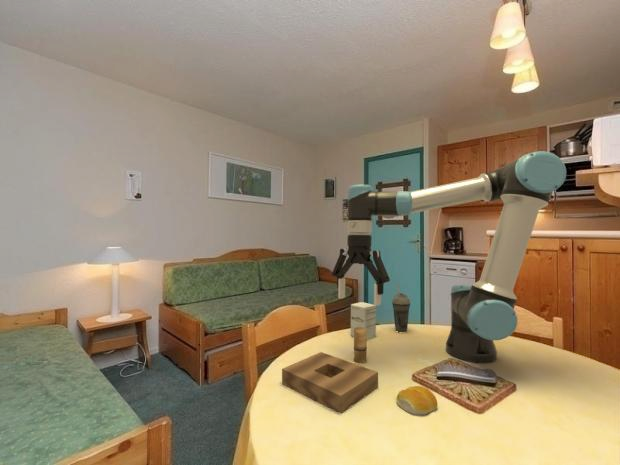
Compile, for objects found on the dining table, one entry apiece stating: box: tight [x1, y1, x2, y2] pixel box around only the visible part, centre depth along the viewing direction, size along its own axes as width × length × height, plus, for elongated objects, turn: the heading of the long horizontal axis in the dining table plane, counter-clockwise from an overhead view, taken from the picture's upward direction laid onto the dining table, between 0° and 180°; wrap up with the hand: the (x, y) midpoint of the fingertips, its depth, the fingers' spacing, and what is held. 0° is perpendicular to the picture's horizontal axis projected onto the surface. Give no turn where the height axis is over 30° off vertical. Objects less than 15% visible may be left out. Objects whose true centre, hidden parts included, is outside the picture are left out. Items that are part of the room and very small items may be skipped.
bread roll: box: [395, 385, 438, 416], centre depth 72 cm, size 8×9×4 cm
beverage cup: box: [391, 282, 411, 333], centre depth 126 cm, size 7×7×20 cm
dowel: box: [353, 327, 368, 364], centre depth 97 cm, size 4×4×10 cm
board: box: [281, 351, 379, 414], centre depth 81 cm, size 20×16×4 cm
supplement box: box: [350, 301, 377, 340], centre depth 120 cm, size 7×7×13 cm
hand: (358, 301), depth 96 cm, fingers open, 13 cm apart
